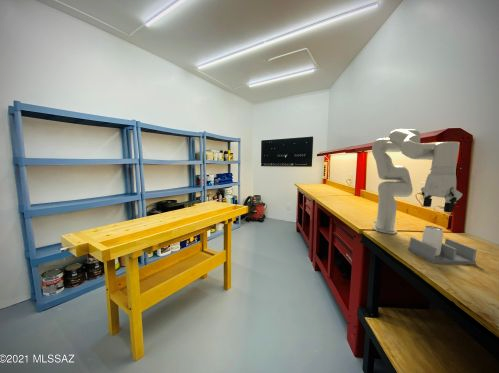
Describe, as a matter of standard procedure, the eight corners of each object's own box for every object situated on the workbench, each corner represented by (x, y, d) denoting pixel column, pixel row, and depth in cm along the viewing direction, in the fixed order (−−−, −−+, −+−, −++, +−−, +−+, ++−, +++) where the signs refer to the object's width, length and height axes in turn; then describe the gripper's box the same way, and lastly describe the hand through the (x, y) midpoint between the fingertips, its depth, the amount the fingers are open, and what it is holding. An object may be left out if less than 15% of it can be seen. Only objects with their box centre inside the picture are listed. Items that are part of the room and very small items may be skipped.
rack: (408, 249, 93) (409, 236, 92) (444, 250, 93) (446, 238, 92) (433, 263, 80) (435, 248, 80) (475, 264, 80) (478, 250, 79)
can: (432, 256, 83) (436, 230, 81) (417, 250, 89) (420, 225, 88) (443, 255, 84) (447, 230, 83) (427, 249, 91) (431, 225, 89)
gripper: (416, 170, 91) (412, 204, 93) (455, 171, 74) (448, 214, 76) (432, 170, 91) (427, 205, 93) (474, 172, 73) (467, 214, 76)
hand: (436, 209), depth 84 cm, fingers open, 9 cm apart
